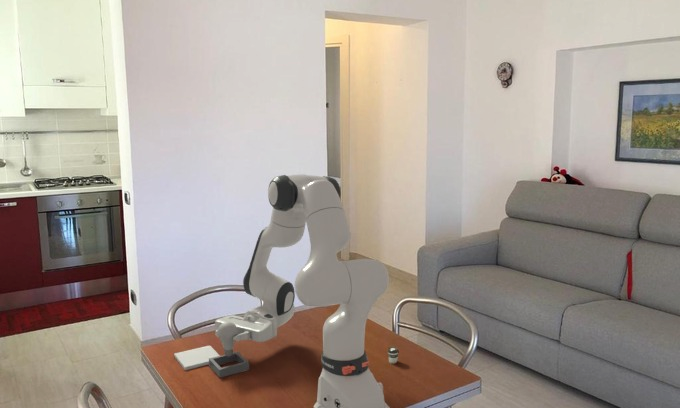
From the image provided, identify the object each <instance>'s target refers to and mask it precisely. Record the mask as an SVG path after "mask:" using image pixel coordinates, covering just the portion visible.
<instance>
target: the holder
mask: <svg viewBox="0 0 680 408" xmlns="http://www.w3.org/2000/svg"><path fill="white" fill-rule="evenodd" d="M233 362H237V363H235V364H231V365H227V366H223V367H221V366H220V365H224V364H229V363H233ZM208 366H209V367H210V369H211V370H212V371H213V372H214V373H215V374H216V375H217V376H218V378H220V379H221V378H224V377H228V376H231V375H236V374H239V373H243V372H247V371H250V361H248V359H246V358H245V357H244V356H243V355H242V354H241V353H240V352H239V351H233V355H231V356H230V357H227V356H225V354H223V355H222V354H221V355H220V356H217V357H213V358H209V364H208Z"/></svg>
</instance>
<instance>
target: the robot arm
mask: <svg viewBox="0 0 680 408" xmlns="http://www.w3.org/2000/svg"><path fill="white" fill-rule="evenodd" d="M341 194H342V191H341V186H340V184H339V182H338V180H336V178H333V177H331V176H326V175H323V176H320V175H310V174H291V175H286V174H283V175H278V176H274V177H273V178H272V180H271V181H270V182H269V185H268V189H267V196H268V201H269V204H270V205H271V206H272V212H271V217H270V221H269V224H268V225H267V226H266V227H263V229H262V230H261V231H260V232H259V234H258V237H257V241H256V244H255V247H254V251H253V253H252V256H251V260H250V263H249V267H248V269H247V271H246V273H245V274H244V277H243V278H242V279H243V280H242V282H243V283H242V285H243V291H244V292H245V294H248V296H249V295H250V296H252V297H254V298H257V299H258V300H260V301H262V302H263V303H262V305H261V306H257V307H254V308H252V309H250V310H247V311H246V312H245V313H244V315H243V316H239V315H236V314H235V315H234V314H231V315H226V316H223V317H220V318H217V319H216V320H215V321H214V328H215V332H214V333H215V337H218V334H217V331H218V328H219V326H220V325H221V324H222V323H224V322H232V323H234V324H235V325H236V327H237V329H238V334H235V335H234V336H233V341H234V342H240V341H247V340H248V341H249V340H250V341H253V342H257V343H264V342H266V341H269V340H271V339H273V338H277V335H278V328H279V327H282V326H283V325H284V324H286V323H287V322H288V321H290V320H291V319H292V318H293V316H294V313H295V308H296V307H295V304H294V303H295V302H294V301H295V295H296V296H297V298H298V300H299V302H301V304H302V305H304V306H305V307H329V306H335V305H339V307H338V309H337V310H336V311H335V312H333V314H331V315H330V316H328V317H327V318H326V319H325V321H324V324H323V326H322V351H321V357H320V360H321V366H322V369H321V372H320V376H319V377H318V380H317V381H318V382H317V394H316V395H317V396H316V402H315V403H314V405H313V408H391V407H390V406H389V405H388V404H387V402H385V395H384V385H383V383H382V382H378V381H377V380H376V378H375V376H374V373H372V372H371V370H370V368H369V367H370V366H371V364H369V363H370V362H371V361H370V360H368V356H367V352H366V350H365V335H366V325H367V320H368V317H369V314H370V312H371V311H372V309H373V307H374V305H375V304H376V302H377V301H378V300H379V299H380V298H381V297H382V296H383V295H385V293H386V292H387V290H388V287H389V286H390V285H389V284H390V275H389V271H388V269H387V267H386V266H385V265H384V263H383V262H382V261H381V260H378V259H372V258H359V259H351V260H341V261H340V260H338V256H337V254H338V253H339V252H341V251H342V250H344V249H345V248H346V247H347V246H348V245H349V243H350V242H351V238H352V237H351V234H352V233H351V229H350V226H349V223H348V219H347V215H346V212H345V209H344V205H343V203H342V199H341ZM306 226H307V232H308V236H309V241H310V253H309V255H308V258H307V261H306V263H305V264H304V266H303V267H302V268H301V269H300V270H299V271H298V273H297V274H296V277H295V279H294V285H293V283H292V282H290V281H288V280H287V279H285V278H282V277H281V276H279V275H277V274H274V273H272V272H271V271H270V270H269V269H268V268H267V264H268V261H269V258H270V256H271V253H272V249H273V248H287V247H288V248H289V247H292V246H294V245H296V244H297V243H299V242H300V241H301V240H302V238H303V236H304V233H305V229H306Z"/></svg>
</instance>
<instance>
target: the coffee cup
mask: <svg viewBox="0 0 680 408" xmlns="http://www.w3.org/2000/svg"><path fill="white" fill-rule="evenodd" d="M399 353H400V351H399V348H398V347H396V346H389V347H388V348H387V357H388V362H389V363H390V364H396V363H398V358H399V357H398V355H399Z"/></svg>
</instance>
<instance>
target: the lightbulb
mask: <svg viewBox="0 0 680 408" xmlns="http://www.w3.org/2000/svg"><path fill="white" fill-rule="evenodd" d="M217 334H218V336H217V338H218V339H219V340H220V342H221V343H222V344H221V345H222V349H223V351H224V355H225V356H227V357H230V356H231V355H233V353H234V346H235V345H234V344H235V341H233V336H234V335H235V334H238V329H237V327H236V325H235V324H234V323H232V322H224V323H222V324H221V325H220V326H219V328H218V331H217Z"/></svg>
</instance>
